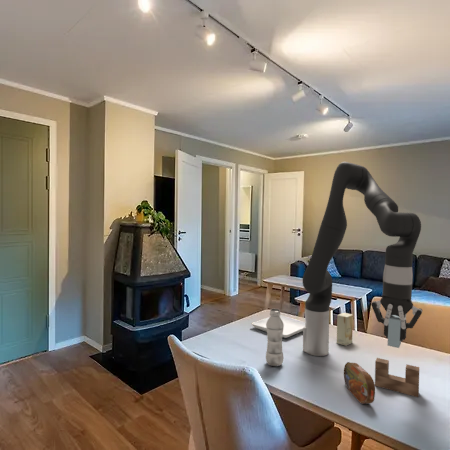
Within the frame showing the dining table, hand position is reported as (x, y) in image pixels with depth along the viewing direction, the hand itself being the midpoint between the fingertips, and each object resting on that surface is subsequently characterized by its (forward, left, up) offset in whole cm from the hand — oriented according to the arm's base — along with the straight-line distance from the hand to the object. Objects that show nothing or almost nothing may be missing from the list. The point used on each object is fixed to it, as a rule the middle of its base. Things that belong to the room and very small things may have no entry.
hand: (394, 338), depth 97 cm
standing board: (0, +7, -18) cm, 20 cm away
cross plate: (0, +5, -2) cm, 5 cm away
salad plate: (-52, +37, -19) cm, 67 cm away
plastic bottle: (-39, +1, -19) cm, 43 cm away
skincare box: (-23, +37, -19) cm, 48 cm away
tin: (-9, -3, -19) cm, 21 cm away
